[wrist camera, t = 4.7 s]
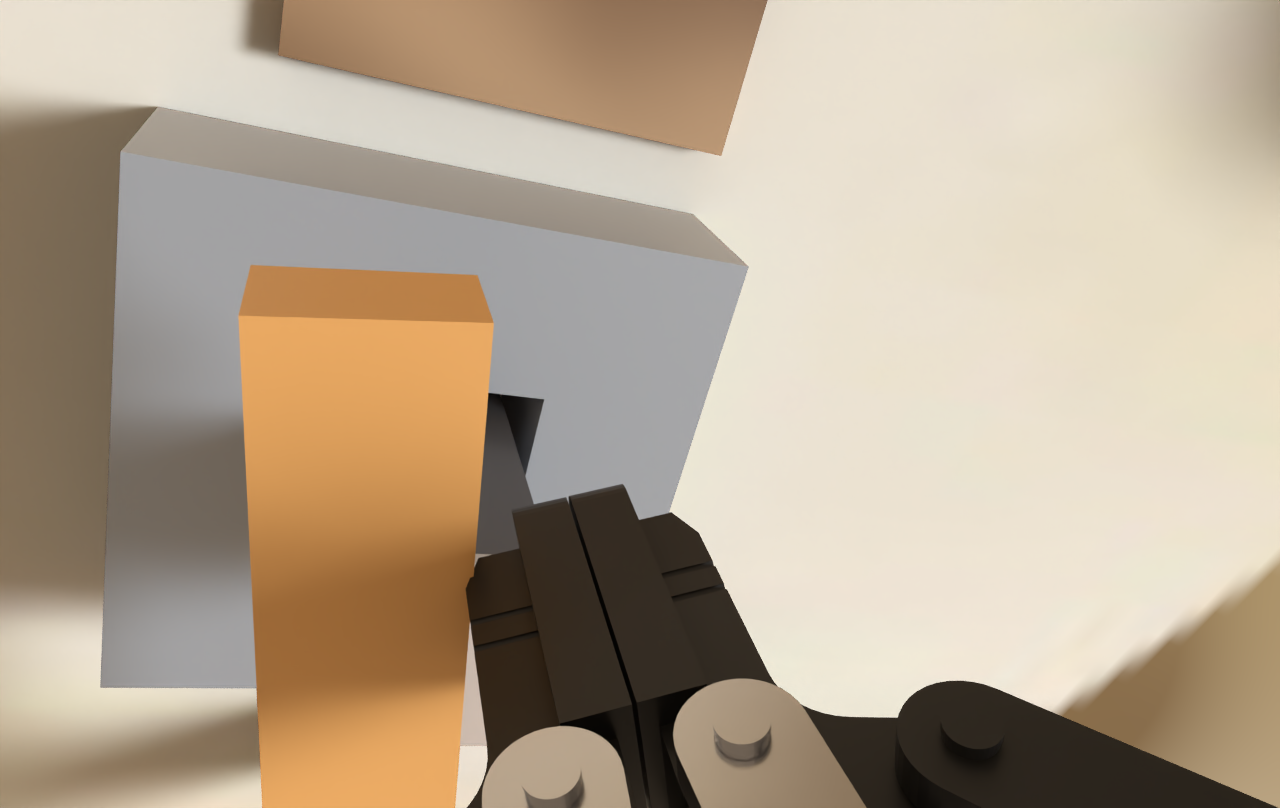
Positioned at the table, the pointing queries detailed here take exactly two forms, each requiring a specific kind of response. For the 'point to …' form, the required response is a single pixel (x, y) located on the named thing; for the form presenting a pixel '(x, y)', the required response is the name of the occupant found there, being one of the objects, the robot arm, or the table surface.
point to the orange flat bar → (362, 526)
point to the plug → (493, 535)
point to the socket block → (383, 241)
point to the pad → (550, 56)
